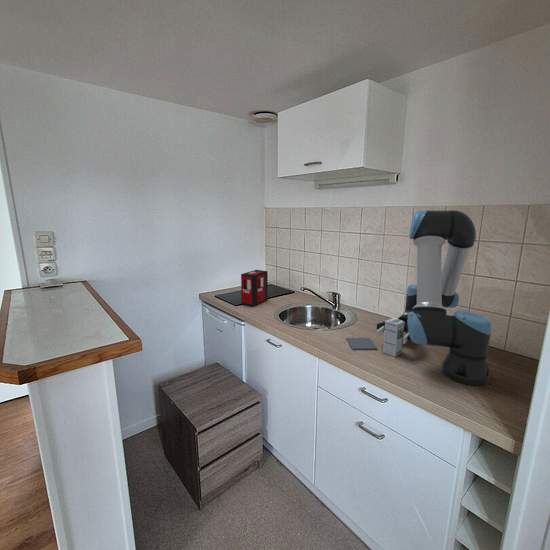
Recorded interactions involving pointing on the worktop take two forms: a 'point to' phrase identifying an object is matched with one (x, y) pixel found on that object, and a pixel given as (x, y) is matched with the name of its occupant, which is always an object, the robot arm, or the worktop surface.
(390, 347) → the syrup box
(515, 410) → the worktop surface
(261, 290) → the cleaning product box
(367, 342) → the charcoal mat
